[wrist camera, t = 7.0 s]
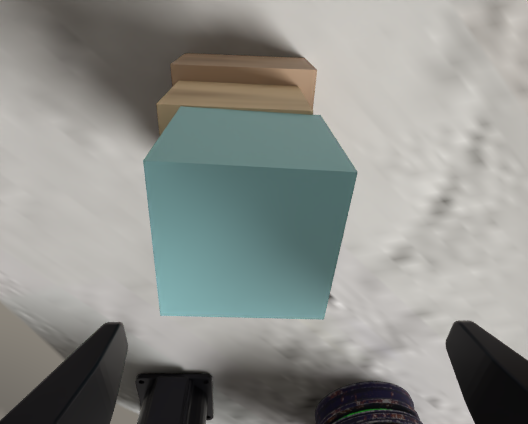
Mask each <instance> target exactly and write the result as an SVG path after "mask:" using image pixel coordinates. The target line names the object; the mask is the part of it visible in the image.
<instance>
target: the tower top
mask: <svg viewBox="0 0 528 424" xmlns="http://www.w3.org/2000/svg"><path fill="white" fill-rule="evenodd" d="M180 106H185V107H200V108H215V109H231V110H246V111H262V112H277V113H293V114H308V115H313V110H312V108H311V106H310V105H309V103H308V101H307V100H306V98H305V96H304V95H303V93H302V91H301V90H300V88H299V86H284V85H263V84H242V83H220V82H199V81H178V82H177V83H176V84H175V85H174V86H173V87H172V88H171V89H170V90H169V91H168V92H167V93H166V94H165V95H164V96H163V97H162V99H161V100H160V101H159V102H158V103H157V104H156V107H157V116H158V126H159V135H160V136H161V134H162V133H163V131H164V130H165V128H166V127H167V125H168V124H169V122H170V121H171V120H172V118H173V117H174V115H175V114H176V112H177V111H178V109H179V108H180Z"/></svg>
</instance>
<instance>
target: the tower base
mask: <svg viewBox="0 0 528 424" xmlns="http://www.w3.org/2000/svg"><path fill="white" fill-rule="evenodd" d="M170 67H171V78H172V87H173V86H174V85H175V84H176V83H177V82H178V81H199V82H220V83H242V84H263V85H284V86H299V88H300V90H301V91H302V93H303V95H304V96H305V98H306V100H307V101H308V103H309V105H310V106H311V108H312V110H313V101H314V93H315V84H316V75H317V69H316V68H314V67H313V66H312V65H311V64H310V63H309V62H308V61H307V60H306V59H305V58H295V57H271V56H246V55H221V54H196V53H185V54H184V55H182V56H181V57H179V58H178V59H177V60H175V61H174V62H173V63H171V64H170Z"/></svg>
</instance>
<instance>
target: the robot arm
mask: <svg viewBox="0 0 528 424" xmlns="http://www.w3.org/2000/svg"><path fill="white" fill-rule="evenodd" d="M127 349H128V343H127V339H126V334H125V330H124V326H123V324H122V323H121V322H107V323H105V324H103V325H102V326H101V327H100V328H99V329H98V330H97V331H96V332H95V333H94V334H92V335H91V336H90V337H89V338H88V339H87V340H86V341H85V342H84V343H83V344H82V345H81V346H80V347H79V348H77V349H76V350H75V351H74V352H73V353H72V354H71V355H70V356H69V357H68V358H67V359H66V360H65V361H64V362H62V363H61V364H60V365H59V366H58V367H57V368H56V369H55V370H54V371H53V372H52V373H51V374H50V375H49V376H47V378H45V379H44V380H43V381H42V382H41V383H40V384H39V385H38V386H37V387H36V388H35V389H34V390H33V391H31V392H30V393H29V394H28V395H27V396H26V397H25V398H24V399H23V400H22V401H21V402H20V403H19V404H18V405H16V406H15V407H14V408H13V409H12V410H11V411H10V412H9V413H8V414H7V415H6V416H5V417H4V418H2V419H1V420H0V424H110V421H111V418H112V415H113V411H114V408H115V404H116V400H117V395H118V391H119V386H120V382H121V377H122V373H123V368H124V364H125V359H126V355H127ZM446 349H447V352H448V355H449V358H450V361H451V364H452V366H453V369H454V372H455V375H456V378H457V380H458V383H459V386H460V389H461V392H462V394H463V397H464V400H465V402H466V405H467V407H468V409H469V412H470V414H471V416H472V418H473V420H474V422H475V424H528V360H526V359H525V358H523V357H522V356H521V355H519V354H518V353H516V352H515V351H514V350H512V349H511V348H509V347H508V346H506V345H505V344H504V343H502V342H501V341H499V340H498V339H497V338H495V337H494V336H492V335H491V334H489V333H488V332H487V331H485V330H484V329H482V328H481V327H480V326H478V325H477V324H475V323H474V322H472V321H456V322H454V324H453V326H452V328H451V330H450V332H449V335H448V337H447V339H446ZM136 386H137V391H138V395H139V399H140V404H141V411H140V414H139V418H138V422H137V424H206V420H211V419H213V414H214V410H213V386H212V376H211V375H209V374H140V375H138V376H137V378H136Z"/></svg>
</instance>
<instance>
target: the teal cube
mask: <svg viewBox="0 0 528 424" xmlns="http://www.w3.org/2000/svg"><path fill="white" fill-rule="evenodd" d="M143 163H144V172H145V181H146V190H147V199H148V208H149V217H150V226H151V235H152V244H153V253H154V262H155V271H156V280H157V289H158V298H159V307H160V316H202V317H244V318H286V319H324V316H325V312H326V307H327V303H328V299H329V294H330V290H331V286H332V281H333V277H334V273H335V268H336V264H337V259H338V255H339V251H340V246H341V242H342V238H343V233H344V229H345V225H346V220H347V216H348V211H349V207H350V203H351V198H352V194H353V190H354V185H355V181H356V177H357V171H356V169H355V168H354V166H353V164H352V163H351V161H350V160H349V158H348V157H347V155H346V154H345V152H344V151H343V149H342V148H341V146H340V144H339V143H338V141H337V140H336V138H335V137H334V135H333V134H332V132H331V131H330V129H329V128H328V126H327V124H326V123H325V121H324V120H323V118H322V117H321V115H308V114H293V113H277V112H262V111H246V110H231V109H215V108H200V107H185V106H180V108H179V109H178V111H177V112H176V114H175V115H174V117H173V118H172V120H171V121H170V122H169V124H168V125H167V127H166V128H165V130H164V131H163V133H162V134H161V136H160V137H159V138H158V140H157V141H156V143H155V144H154V146H153V147H152V149H151V150H150V152H149V153H148V154H147V156H146V157H145V159H144V160H143Z"/></svg>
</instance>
